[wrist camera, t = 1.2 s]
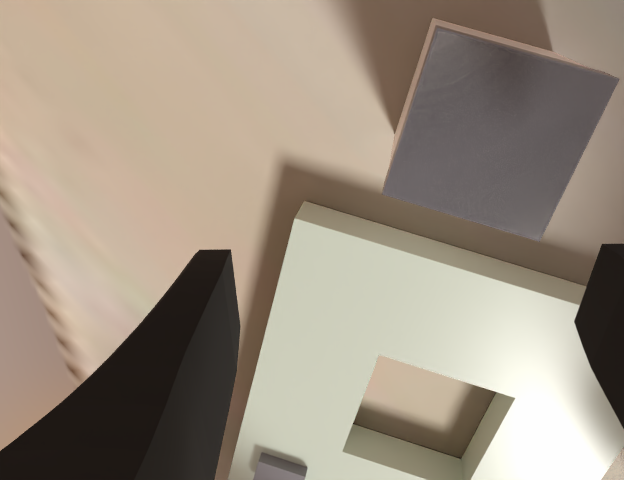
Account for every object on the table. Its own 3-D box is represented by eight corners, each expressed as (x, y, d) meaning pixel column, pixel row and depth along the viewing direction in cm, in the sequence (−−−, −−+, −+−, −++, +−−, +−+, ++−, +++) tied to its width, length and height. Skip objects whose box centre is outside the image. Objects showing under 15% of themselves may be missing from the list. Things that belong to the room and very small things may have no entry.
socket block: (675, 313, 22) (705, 350, 20) (517, 552, 29) (525, 600, 27) (304, 200, 23) (291, 224, 21) (236, 458, 30) (221, 497, 28)
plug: (554, 50, 19) (619, 79, 13) (504, 167, 21) (539, 241, 15) (431, 15, 20) (437, 27, 13) (393, 135, 22) (382, 194, 15)
